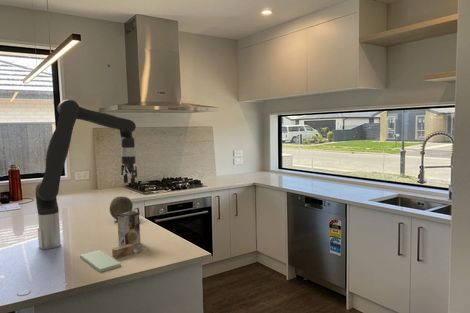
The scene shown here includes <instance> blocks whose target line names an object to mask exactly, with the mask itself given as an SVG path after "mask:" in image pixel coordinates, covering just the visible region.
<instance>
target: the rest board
mask: <svg viewBox="0 0 470 313" xmlns="http://www.w3.org/2000/svg"><path fill="white" fill-rule="evenodd" d="M79 257H80V259H82V260H83V261H84V262H85V263H87V264H89V265H90V266H91V267H92V268H94V269H95V270H96V271H98V273H102V272H105V271H109V270H113V269H115V268H119V267H121V266H122V265H121V264H122V263H121V262H120V261H118V260H116V259H115V258H114V257H113V256H112V257H111V255H108V254H107V253H106V252H104V251H102V250H100V249H98V250H93V251H90V252H85V253H83V254H80V255H79Z"/></svg>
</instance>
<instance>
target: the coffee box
mask: <svg viewBox="0 0 470 313" xmlns="http://www.w3.org/2000/svg"><path fill="white" fill-rule="evenodd" d="M117 237H118V238H117V239H118V247H120V246H124V245H128V244H132V245H133V246H135V245H136V246H137V245H139V244H141V226H140V212H137V211H135V210H132V211H130V212H125V213H121V214H117Z"/></svg>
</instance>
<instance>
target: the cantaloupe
mask: <svg viewBox="0 0 470 313" xmlns="http://www.w3.org/2000/svg"><path fill="white" fill-rule="evenodd" d="M130 211H133V202H132V200H131V199H130V198H129V197H128V196H116V197H114V198H113V199H112V200H111V202H110V204H109V213H110V215H111V217H112V218H113V219H114V220H117V214H121V213H125V212H130Z"/></svg>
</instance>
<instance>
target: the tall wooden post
mask: <svg viewBox="0 0 470 313" xmlns="http://www.w3.org/2000/svg"><path fill="white" fill-rule="evenodd" d="M111 249H112V250H111V252H112V253H111V254H112V258H113V259H115V260H116V259H119V258H122V257H126V256H130V255H133V254H134V255H138V254H142V253H145V252H147V251H148V250H147V248H145V247H143V246H141V245H140V246H136V247H134V245H132V244H128V245H124V246H117V247H114V248H111Z"/></svg>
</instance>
